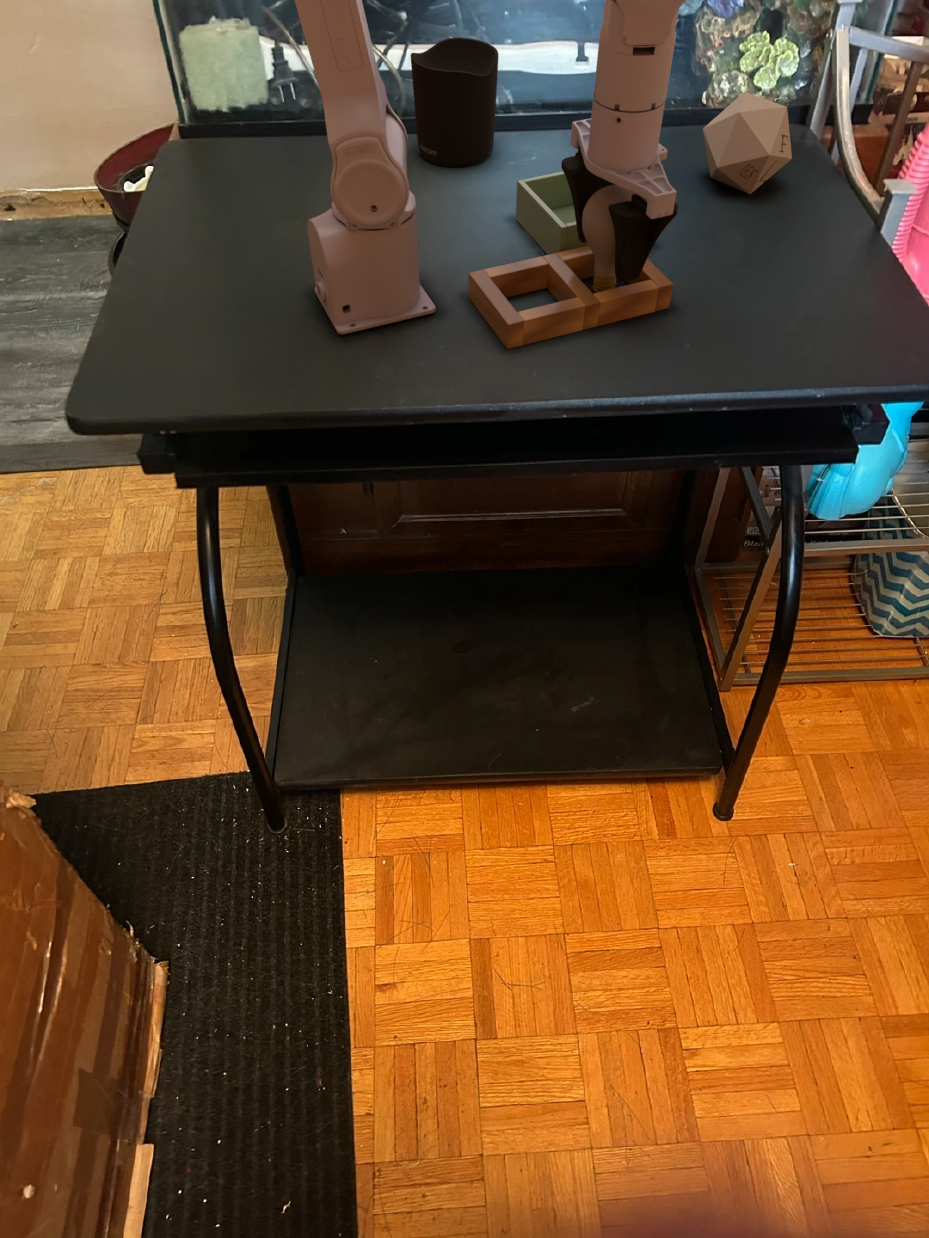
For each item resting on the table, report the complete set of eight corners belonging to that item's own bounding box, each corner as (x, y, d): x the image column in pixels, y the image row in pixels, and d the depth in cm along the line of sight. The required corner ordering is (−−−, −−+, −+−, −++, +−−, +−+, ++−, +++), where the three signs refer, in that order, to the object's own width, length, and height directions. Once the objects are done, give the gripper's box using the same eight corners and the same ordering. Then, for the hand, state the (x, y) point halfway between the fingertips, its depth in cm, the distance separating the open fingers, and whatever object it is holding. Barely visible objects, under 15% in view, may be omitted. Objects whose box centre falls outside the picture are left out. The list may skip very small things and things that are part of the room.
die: (710, 211, 94) (789, 140, 87) (671, 140, 95) (746, 64, 88) (747, 213, 100) (825, 147, 93) (710, 146, 101) (784, 75, 93)
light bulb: (644, 298, 83) (662, 192, 75) (599, 317, 81) (613, 210, 73) (606, 272, 86) (620, 167, 78) (562, 290, 84) (572, 184, 76)
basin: (558, 267, 86) (561, 228, 83) (515, 219, 92) (516, 180, 89) (649, 246, 89) (655, 207, 86) (601, 200, 95) (606, 162, 91)
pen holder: (412, 135, 104) (407, 39, 97) (490, 131, 105) (492, 35, 97) (418, 172, 99) (414, 74, 91) (501, 167, 99) (504, 69, 91)
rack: (507, 349, 78) (508, 324, 76) (468, 297, 83) (468, 272, 81) (669, 308, 82) (673, 284, 80) (622, 261, 87) (625, 236, 85)
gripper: (722, 125, 67) (687, 289, 77) (629, 57, 75) (609, 213, 86) (640, 142, 65) (616, 307, 76) (554, 70, 73) (543, 227, 84)
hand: (608, 258), depth 81 cm, fingers open, 7 cm apart
